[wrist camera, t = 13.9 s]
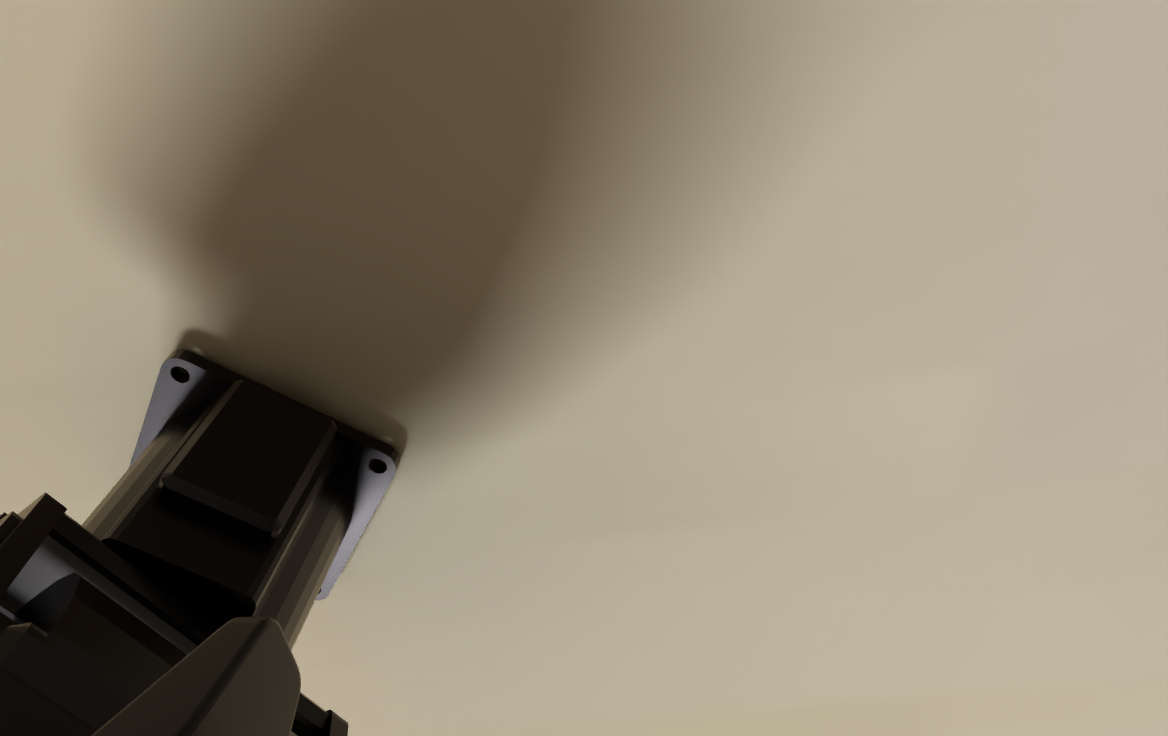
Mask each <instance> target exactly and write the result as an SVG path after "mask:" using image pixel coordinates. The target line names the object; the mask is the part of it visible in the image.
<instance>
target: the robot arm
mask: <svg viewBox="0 0 1168 736" xmlns="http://www.w3.org/2000/svg"><path fill="white" fill-rule="evenodd" d="M178 366H179V367H183V368H184V369H186V370H187V371H188V373H189V374H190V375H189V374H185V373H184V372H182V371H181V370H180V369H179V367H178ZM374 459H380V460H382V461H384V462H385V463H386V464H384V465H383V464H379V463H377V462H376V461H375V460H374ZM399 462H400V457H399V454H398V452H397V451H396V450H395V448H393V447H392V446H390V445H389V444H386V443H384V442H382V441H380V440H378V439H376V438H374V437H372V436H369V435H367V434H365V433H363V432H361V431H359V430H357V429H354V428H352V427H350V426H348V425H346V424H344V423H342V422H340V421H337V420H335V419H333V418H331V417H329V416H327V415H325V414H323V413H320V412H318V411H316V410H314V409H312V408H310V407H308V406H305V405H303V404H301V403H299V402H297V401H295V400H293V399H291V398H288V397H286V396H284V395H282V394H280V393H278V392H276V391H273V390H271V389H269V388H267V387H265V386H263V385H261V384H259V383H256V382H254V381H252V380H250V379H248V378H246V377H244V376H241V375H239V374H237V373H235V372H233V371H231V370H229V369H227V368H224V367H222V366H220V365H218V364H216V363H214V362H212V361H210V360H207V359H205V358H203V357H201V356H199V355H197V354H195V353H192V352H189V351H186V350H178V351H176V352H174V353H172V354H171V355H170V356H169V357H168V358H167V359H166V360H165V361H164V363H163V364H162V366H161V369H160V372H159V375H158V378H157V382H156V385H155V388H154V391H153V394H152V397H151V400H150V404H149V407H148V410H147V413H146V416H145V419H144V423H143V426H142V429H141V432H140V435H139V438H138V441H137V445H136V448H135V451H134V454H133V457H132V460H131V463H130V467H129V469H128V470H127V472H126V473H125V474H124V475H123V476H122V478H121V479H120V480H119V481H118V482H117V484H116V485H115V486H114V487H113V488H112V490H111V491H110V492H109V493H108V494H107V495H106V497H105V498H104V499H103V500H102V501H101V503H100V504H99V505H98V506H97V507H96V509H95V510H94V511H93V512H92V513H91V515H90V516H89V517H88V518H87V519H86V521H85V522H84V523H83V524H82V525H80V524H78V523H77V522H76V521H75V520H73V519H72V518H71V517H69V516H68V515H67V514H65V511H66V510H67V508H65V507H64V506H63V505H61V504H60V503H59V502H57V501H56V500H55V499H54V498H52V497H51V496H50V495H48V494H47V493H44V494H43V495H41V496H40V497H39V498H38V499H37V500H35V501H34V502H33V503H32V504H30V505H29V506H28V507H27V508H25V509H24V510H23V511H22V512H20V513H19V514H18V515H17V514H16V513H15V512H13V511H12V512H11V513H9V514H6V513H5V512H4V513H3V514H2V515H0V736H347V734H348V723H347V722H346V721H345V720H343V719H342V718H341V717H339V716H338V715H337V714H336V713H334V712H333V711H331V710H328V711H325V710H323V709H322V708H321V707H319V706H318V705H317V704H315V703H314V702H313V701H312V700H310V699H309V698H308V697H306V696H305V695H304V694H302V693H301V692H300V688H301V678H300V672H299V669H298V666H297V664H296V661H295V659H294V657H293V654H292V652H291V650H292V648H293V646H294V644H295V642H296V640H297V637H298V635H299V633H300V631H301V629H302V627H303V625H304V622H305V620H306V618H307V616H308V614H309V612H310V610H311V607H312V605H313V603H314V601H315V600H322V599H325V598H326V597H327V596H328V595H329V593H330V591H331V589H332V588H333V586H334V584H335V582H336V580H337V578H338V577H339V575H340V573H341V571H342V569H343V568H344V566H345V564H346V562H347V560H348V558H349V557H350V555H351V553H352V551H353V549H354V547H355V546H356V544H357V542H358V540H359V538H360V537H361V535H362V533H363V531H364V529H365V527H366V526H367V524H368V522H369V520H370V518H371V517H372V515H373V513H374V511H375V509H376V507H377V506H378V504H379V502H380V500H381V498H382V496H383V495H384V493H385V491H386V489H387V487H388V486H389V484H390V482H391V480H392V478H393V476H394V475H395V472H396V470H397V468H398V466H399Z"/></svg>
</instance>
